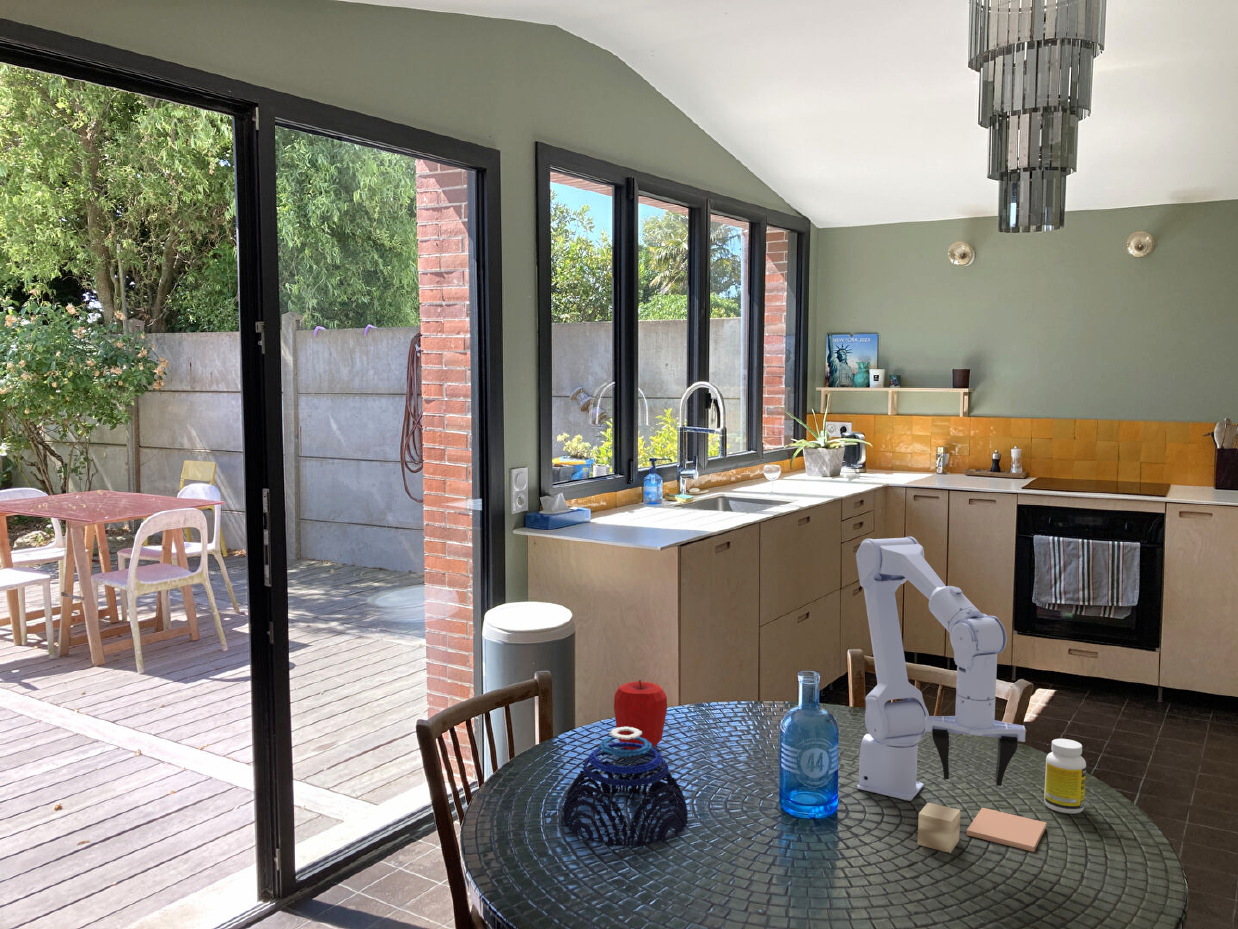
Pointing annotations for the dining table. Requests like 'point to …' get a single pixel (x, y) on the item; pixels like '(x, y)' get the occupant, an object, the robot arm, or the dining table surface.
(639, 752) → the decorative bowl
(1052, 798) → the pill bottle
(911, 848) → the dining table surface
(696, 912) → the dining table surface
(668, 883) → the dining table surface
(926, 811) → the maple cube
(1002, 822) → the coaster
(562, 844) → the dining table surface
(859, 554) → the robot arm
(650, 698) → the apple
